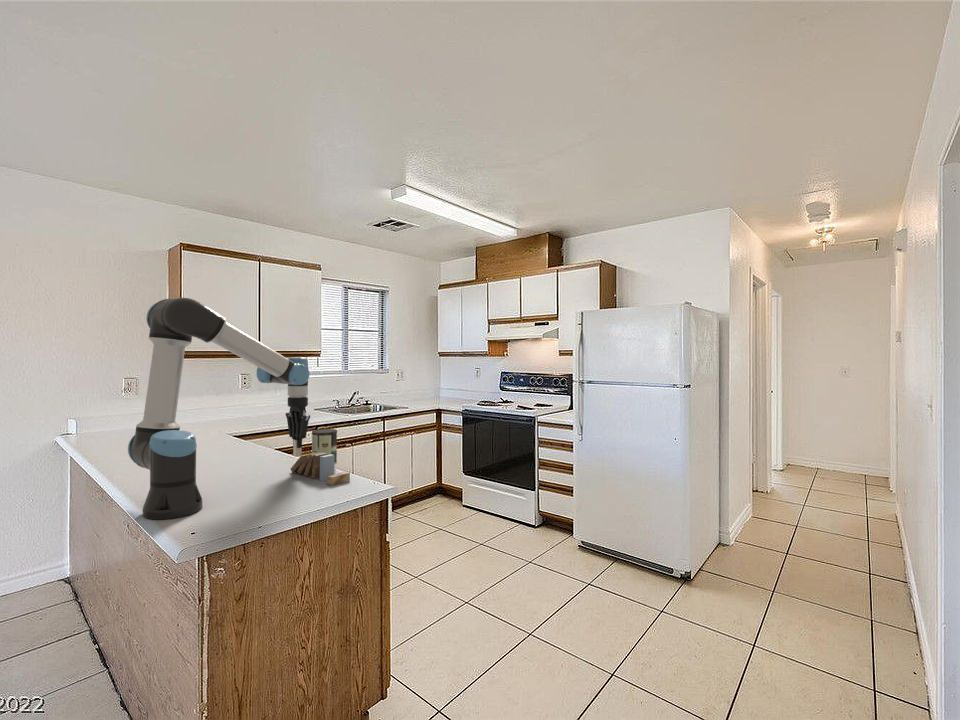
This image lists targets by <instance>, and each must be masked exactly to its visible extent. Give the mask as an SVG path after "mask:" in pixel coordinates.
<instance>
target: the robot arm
mask: <svg viewBox="0 0 960 720" xmlns="http://www.w3.org/2000/svg"><path fill="white" fill-rule="evenodd" d="M146 324H147V326H148V327H149V334H148V340H150V342H151V343H152V344H153V347H152V353H151V354H152V355H151V362H150V369H149V376H148V384H147V390H146V395H145V404H144V411H143V418H142V420H141V421H139V422H138V423H137V424H136V427H135V433H134V435H133V436H132V437H131V439H130V440H129V442H128V445H127V454H128V457H129V458H130V460H132V462H134V464H136V465H137V466H139V467H140V468H144V469H146V470H149V490H148V492H147V495H146V497H145V501H144V503H143V506H142V517H144V518H145V519H149V520H168V519H176V518H181V517H182V518H183V517H186V516H189V515H192V514H195V513H197V512H199V511H201V510H202V509H203V497H202V495H201V492H200V490H199V488H198V485H197V438H196V436H195V435H194V434H193V433H192V432H190V431H187V430H180V428H181V426H180V425H179V424H178V422H177V421H176V417H177V410H178V403H179V395H180V388H181V381H182V373H183V365H184V358H185V352H186V347H188V346H189V345H191V344H192V340H193V338H196V339H199V340H201V341H203V342H205V343H208V344H209V343H213V344H215V345H216V346H219V347H221V348H223V349H224V350H226V351H228V352H230V353H232V354H233V355H236V356H237V357H239V358H241V359H243V360H244V361H247V362H248V363H250V364H252V365H254V366H255V367H257V368H256V378H257V380H258V382H259V383H262V384H282V385H287V396H288V397H287V407H289V411H288V412H286V413H285V417H286V420H287V421H286V422H287V428H288V436H289V438H291V439H292V449H293V451H292V452H293V455H292V456H293V457H299V456H300V457H301V456H303V455H302V449H303V439H306V438H307V433H308V426H309V421H310V418H311V415H310V414H307V410H306V407H307V406H308V405H309V398H308V395H309V392H308V391H309V387H308V386H309V378H310V370H309V361H308V358H307V357H288V358H287V357H285V356H284V355H282V354H280V353H279V352H277V351H275V350H273V348H271V347H268V346H267V345H265V344H263V343H262V342H261V341H258V340H257V339H255V338H254V337H252V336H250V335H248V334H247V333H245V332H243V331H242V330H240V329H238V328H237V327H235V326H233V325H231V324H230V323H228V322H227V321H226V317H225V316H223V315H221V314H220V313H218V312H216V311H215V310H214V309H211V308H210V307H208V306H207V305H205V304H203V303H201V302H200V301H198V300H196V299H192V298H189V297H178V298H177V297H176V298H165V299H161V300H159V301H158V302H155V303H154V304H152V305H151V306H150V307H149V309H148V311H147V313H146Z"/></svg>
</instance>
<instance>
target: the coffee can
mask: <svg viewBox="0 0 960 720" xmlns="http://www.w3.org/2000/svg"><path fill="white" fill-rule="evenodd" d="M337 434H338V430H337V429H336V428H335V429H333V428H321V429H314V430H312V431H311V454H313V453H318V452H322V453H327V455H330V454H332V455H335V457H334V466H335V465H337V463H338V462H337V461H338V460H337V457H338V456H337V455H338V452H337V448H338V447H337V445H338V444H337V442H338V441H337V440H338V435H337Z"/></svg>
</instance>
